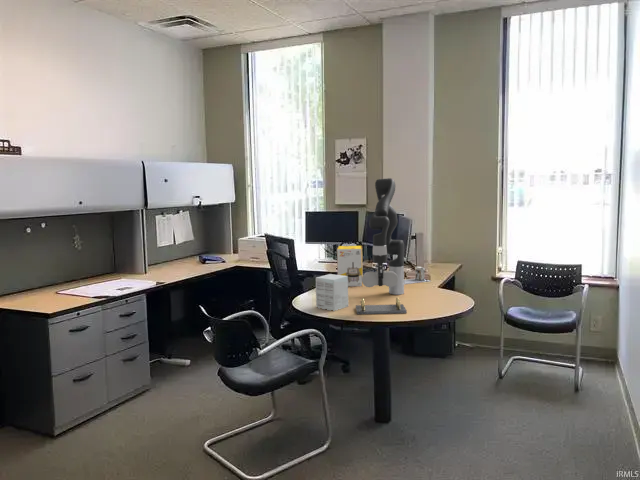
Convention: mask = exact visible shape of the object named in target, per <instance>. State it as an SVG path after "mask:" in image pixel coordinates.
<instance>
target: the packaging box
mask: <svg viewBox="0 0 640 480" xmlns="http://www.w3.org/2000/svg"><path fill="white" fill-rule="evenodd" d="M336 260H337V261H336V262H337V263H336V264H337V266H336V267H337V275H343V276H348V287H363V285H364V284H363V283H362V276H363V275H364V274H363V273H364V272H363V245H338V247H337V249H336Z"/></svg>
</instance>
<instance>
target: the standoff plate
mask: <svg viewBox="0 0 640 480" xmlns="http://www.w3.org/2000/svg"><path fill="white" fill-rule="evenodd" d="M365 302H366V301H365V298H360V305H359V304H357V305H355V309H356V314H357V315H389V314H390V315H391V314H407V309H406V307H405V305H404V304H402V303H401V300H400V299H399V297H395V304H366V303H365Z"/></svg>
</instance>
